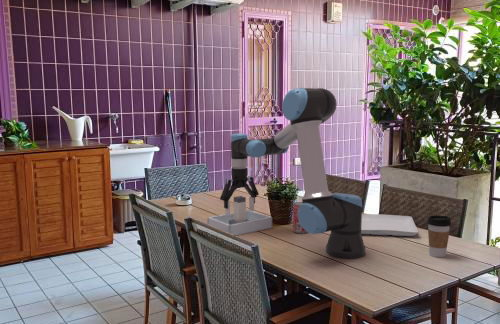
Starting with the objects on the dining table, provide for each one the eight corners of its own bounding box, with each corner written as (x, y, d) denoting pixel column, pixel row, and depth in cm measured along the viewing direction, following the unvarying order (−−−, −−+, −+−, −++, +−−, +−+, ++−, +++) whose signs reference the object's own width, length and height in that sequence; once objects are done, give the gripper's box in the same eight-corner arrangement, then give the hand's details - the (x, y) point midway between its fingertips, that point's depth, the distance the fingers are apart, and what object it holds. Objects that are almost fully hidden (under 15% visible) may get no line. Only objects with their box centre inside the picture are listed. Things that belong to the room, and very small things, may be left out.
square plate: (353, 220, 239) (353, 212, 239) (411, 223, 234) (411, 215, 233) (353, 236, 213) (353, 227, 212) (419, 240, 207) (419, 231, 207)
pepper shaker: (245, 226, 226) (245, 197, 224) (238, 228, 223) (238, 198, 221) (240, 225, 229) (240, 195, 227) (233, 226, 226) (233, 197, 224)
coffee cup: (447, 260, 181) (449, 220, 179) (423, 256, 186) (425, 217, 183) (451, 253, 188) (453, 215, 186) (428, 250, 193) (430, 213, 190)
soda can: (308, 234, 215) (308, 205, 213) (292, 233, 217) (292, 204, 215) (309, 229, 222) (309, 202, 220) (293, 229, 224) (294, 201, 222)
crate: (272, 227, 226) (272, 217, 225) (229, 236, 212) (229, 225, 211) (249, 219, 240) (248, 209, 240) (207, 228, 226) (207, 217, 225)
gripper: (256, 164, 233) (256, 207, 235) (211, 169, 218) (212, 215, 221) (265, 165, 227) (266, 210, 229) (221, 171, 212) (221, 218, 215)
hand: (239, 213), depth 225 cm, fingers open, 13 cm apart
